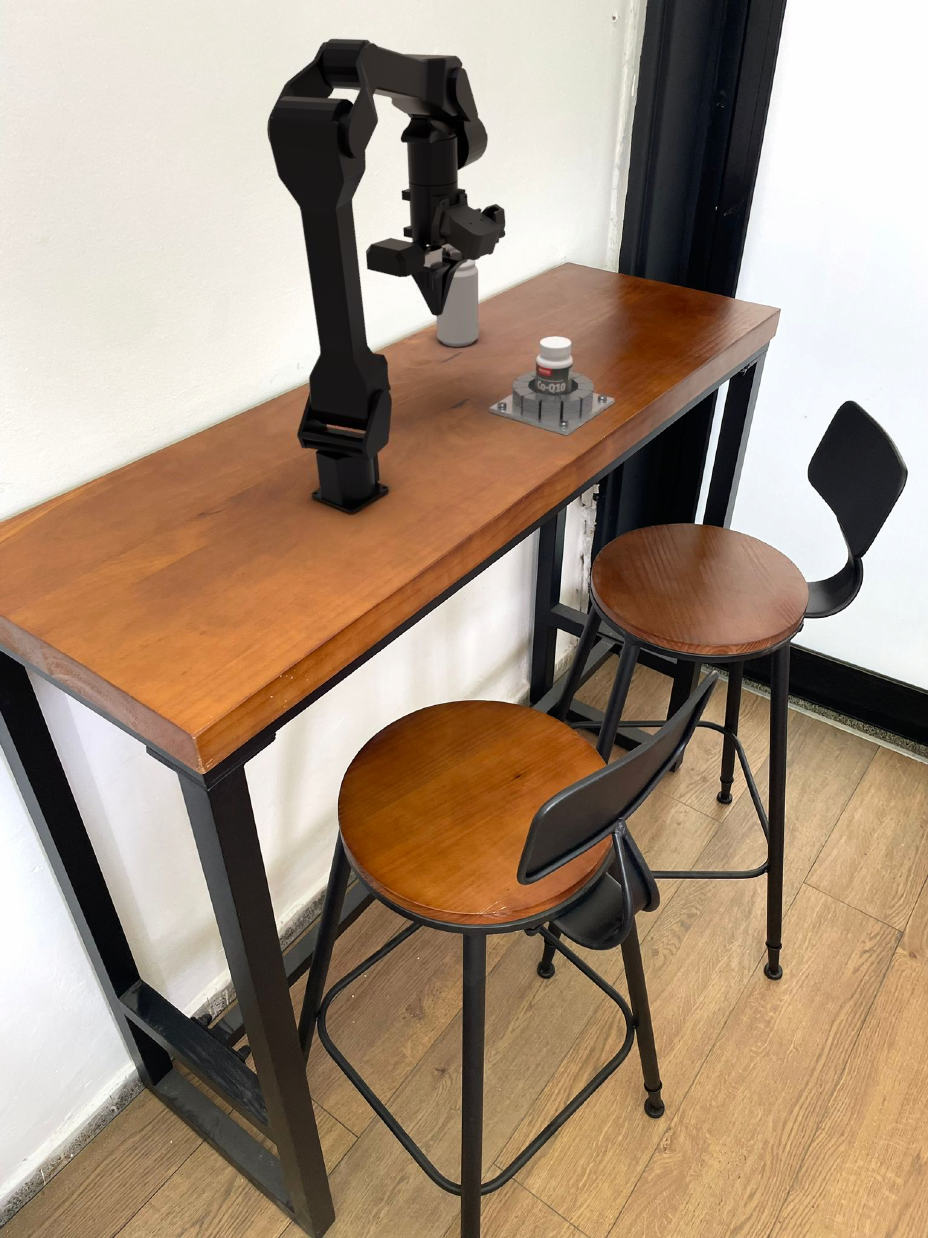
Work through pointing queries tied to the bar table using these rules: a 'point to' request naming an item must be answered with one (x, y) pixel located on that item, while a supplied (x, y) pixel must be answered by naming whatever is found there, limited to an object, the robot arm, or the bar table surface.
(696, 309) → the bar table surface
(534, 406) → the socket
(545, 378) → the pill bottle
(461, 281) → the beverage can
